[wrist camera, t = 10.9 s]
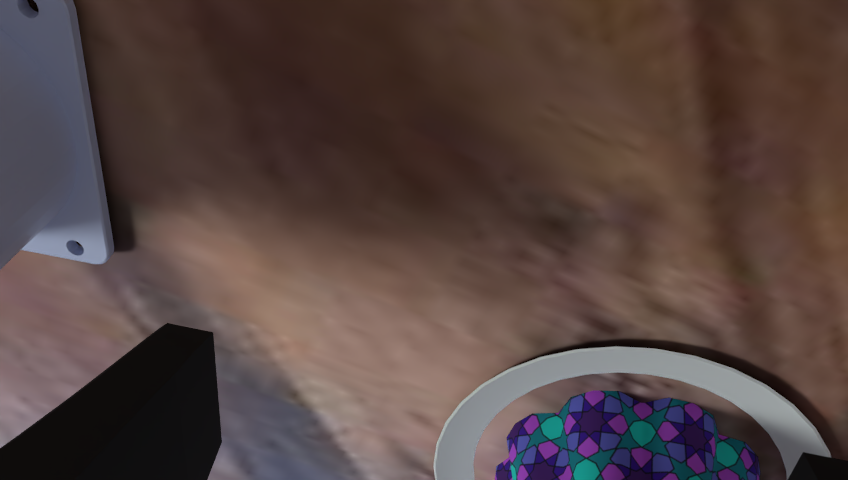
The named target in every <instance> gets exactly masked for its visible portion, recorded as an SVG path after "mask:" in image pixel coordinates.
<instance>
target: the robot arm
mask: <svg viewBox="0 0 848 480" xmlns="http://www.w3.org/2000/svg"><path fill="white" fill-rule="evenodd" d="M34 1H35V2H36V4H37V6H38V9H39V12H37V11H34V10H33V9H32V8H31V7H30V6H29V3H28V1H27V0H0V269H1V268H3V267H4V266H5V265H6V264H7V263H8V262H9V261H10V260H11V259H12V258H13V257H14V256H15V255H16V254H17V253H18V252H19V251H20V250H25V251H30V252H35V253H40V254H45V255H51V256H56V257H61V258H66V259H71V260H76V261H82V262H87V263H92V264H103V263H105V262H107V260H108V259H109V258H110V257H111V256H112V254H113V253H114V243H113V236H112V230H111V224H110V218H109V211H108V205H107V199H106V193H105V187H104V180H103V174H102V168H101V162H100V156H99V149H98V143H97V137H96V131H95V124H94V118H93V112H92V106H91V100H90V93H89V87H88V81H87V75H86V68H85V62H84V56H83V50H82V44H81V37H80V31H79V25H78V19H77V12H76V8H75V5H74V2H73V0H34ZM75 241H77V242H79V243H80V244H81V245H82V247H81V246H79V245H78V244H77V243H76V242H75ZM221 443H222V439H221V427H220V414H219V402H218V389H217V376H216V364H215V351H214V339H213V332H208V331H203V330H198V329H193V328H188V327H183V326H179V325H174V324H169V323H167V324H165V325H164V326H162V327H161V328H159V329H158V330H157V331H155V332H154V333H153V334H151V335H150V336H149V337H147V338H146V339H145V340H143V341H142V342H141V343H140V344H138V345H137V346H136V347H134V348H133V349H132V350H131V351H129V352H128V353H127V354H125V355H124V356H123V357H122V358H120V359H119V360H118V361H116V362H115V363H114V364H113V365H111V366H110V367H109V368H107V369H106V370H105V371H104V372H102V373H101V374H100V375H98V376H97V377H96V378H95V379H93V380H92V381H91V382H89V383H88V384H87V385H85V386H84V387H83V388H81V389H80V390H79V391H78V392H76V393H75V394H74V395H72V396H71V397H70V398H68V399H67V400H66V401H64V402H63V403H62V404H60V405H59V406H58V407H56V408H55V409H54V410H52V411H51V412H49V413H48V414H47V415H45V416H44V417H43V418H41V419H40V420H39V421H37V422H36V423H35V424H33V425H32V426H30V427H29V428H28V429H26V430H25V431H24V432H22V433H21V434H20V435H18V436H17V437H16V438H14V439H13V440H11V441H10V442H9V443H7V444H6V445H4V446H3V447H1V448H0V480H207V479H208V476H209V474H210V471H211V468H212V466H213V463H214V461H215V458H216V455H217V453H218V450H219V448H220V445H221ZM788 480H848V461H845V460H840V459H835V458H830V457H825V456H820V455H815V454H810V453H805V452H803V453H802V455H801V456H800V458H799V460H798V462H797V464H796V465H795V467H794V469H793V471H792V473H791V474H790V476H789V478H788Z"/></svg>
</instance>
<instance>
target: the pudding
mask: <svg viewBox="0 0 848 480" xmlns="http://www.w3.org/2000/svg"><path fill="white" fill-rule="evenodd" d="M615 372H621V373H636V374H649V375H655V376H660V377H665V378H670V379H676V380H680V381H683V382H686V383H689V384H692V385H695V386H698V387H701V388H704V389H706V390H709V391H711V392H713V393H715V394H717V395H719V396H721V397H723V398H725V399H727V400H729V401H731V402H732V403H734V404H735V405H736V406H738V407H739V408H741V409H742V410H743V411H745V412H746V413H748V414H749V415H750V416H752V417H753V418H754V419H755V420H756V421H757V422H758V423H759V424H760V425H761V426H762V427H763V428H764V429H765V430H766V431H767V432H768V434H769V435H770V437H771V438H772V440H773V441H774V443H775V445H776V446H777V448H778V449H779V451H780V453H781V456H782V459H783V462H784V465H785V468H786V475H787V480H788V478H789V476H790V474H791V473H792V471H793V469H794V467H795V465H796V464H797V462H798V460H799V458H800V456H801V455H802V453H803V452H805V453H810V454H815V455H820V456H825V457H830V458H831V455H830V451H829V450H828V448H827V446H826V445H825V443H824V441H823V440H822V438H821V436H820V434H819V433H818V431H817V429H816V428H815V427H814V426H813V424H812V423H811V422H810V421H809V420H808V419H807V418H806V417H805V416H804V415H803V414H802V413H801V412H800V411H799V410H798V409H797V407H796V406H795V405H794V404H792V403H791V402H789V401H788V400H787V399H785V398H784V397H782V396H781V395H780V394H778V393H777V392H776V391H774V390H773V389H771V388H770V387H769V386H767V385H766V384H764V383H762V382H760V381H758V380H756V379H754V378H752V377H750V376H748V375H746V374H744V373H742V372H740V371H738V370H736V369H734V368H731V367H728V366H725V365H722V364H719V363H716V362H713V361H710V360H707V359H704V358H701V357H697V356H693V355H688V354H683V353H677V352H672V351H667V350H661V349H655V348H637V347H619V346H614V347H601V348H587V349H576V350H571V351H566V352H562V353H557V354H552V355H548V356H543V357H539V358H537V359H534V360H531V361H529V362H526V363H523V364H520V365H518V366H515V367H512V368H510V369H508V370H506V371H504V372H502V373H501V374H499V375H497V376H495V377H494V378H492V379H490V380H488V381H487V382H485V383H483V384H482V385H480V386H479V387H478V388H477V389H476V390H475V391H473V392H472V393H471V394H470V395H469V396H468V397H466V398H465V399H464V400H463V401H462V402H461V403H460V404H459V405H458V407H457V408H456V409H455V411H454V412H453V413H452V415H451V416H450V417H449V419H448V420H447V421H446V423H445V425H444V428H443V430H442V432H441V435H440V437H439V439H438V442H437V444H436V451H435V458H434V465H433V466H434V474H435V480H474V467H473V461H474V456H475V451H476V446H477V444H478V441H479V439H480V437H481V435H482V433H483V431H484V429H485V428H486V427H487V425H488V424H489V423H490V422H491V420H492V419H493V418H494V417H495V415H496V414H497V413H498V412H500V411H501V410H502V409H503V408H505V407H506V406H507V405H508V404H510V403H511V402H512V401H513V400H515V399H517V398H519V397H520V396H522V395H524V394H526V393H528V392H530V391H531V390H533V389H535V388H538V387H541V386H544V385H546V384H549V383H552V382H555V381H558V380H561V379H566V378H571V377H576V376H581V375H586V374H599V373H615ZM507 443H508V450H509V458H508V459H506V460H505V461H504V462H502V463H501V464H499V465H498V466H497V468H496V476H495V480H760V468H759V461H758V456H757V455H756V454H755V453H754V452H753V451H752V450H751V448H750V447H749V446H748V445H747V444H746V443H745V442H743V441H739V440H736V439H732V438H729V437H726V436H722V435H719V433H718V430H717V427H716V423H715V420H714V417H713V415H711V414H710V413H708V412H707V411H705V410H703V409H702V408H700V407H699V406H697V405H695V404H694V403H690V402H685V401H681V400H677V399H673V398H665V399H660V400H655V401H651V402H646V403H640V402H638V401H636V400H635V399H633V398H631V397H629V396H627V395H625V394H623V393H621V392H619V391H591V392H587V393H584V394H580V395H577V396H573V397H571V398H570V399H569V400H568V402H567V403H566V404H565V405H564V407H563V408H562V409H561V410H560V412H559V413H541V414H531V415H529V416H528V417H526V418H524V419H522V420H521V421H519V422H517V423H516V424H515V425H514V427H513V428H512V430H511V432H510V433H509V435H508V437H507Z"/></svg>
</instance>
